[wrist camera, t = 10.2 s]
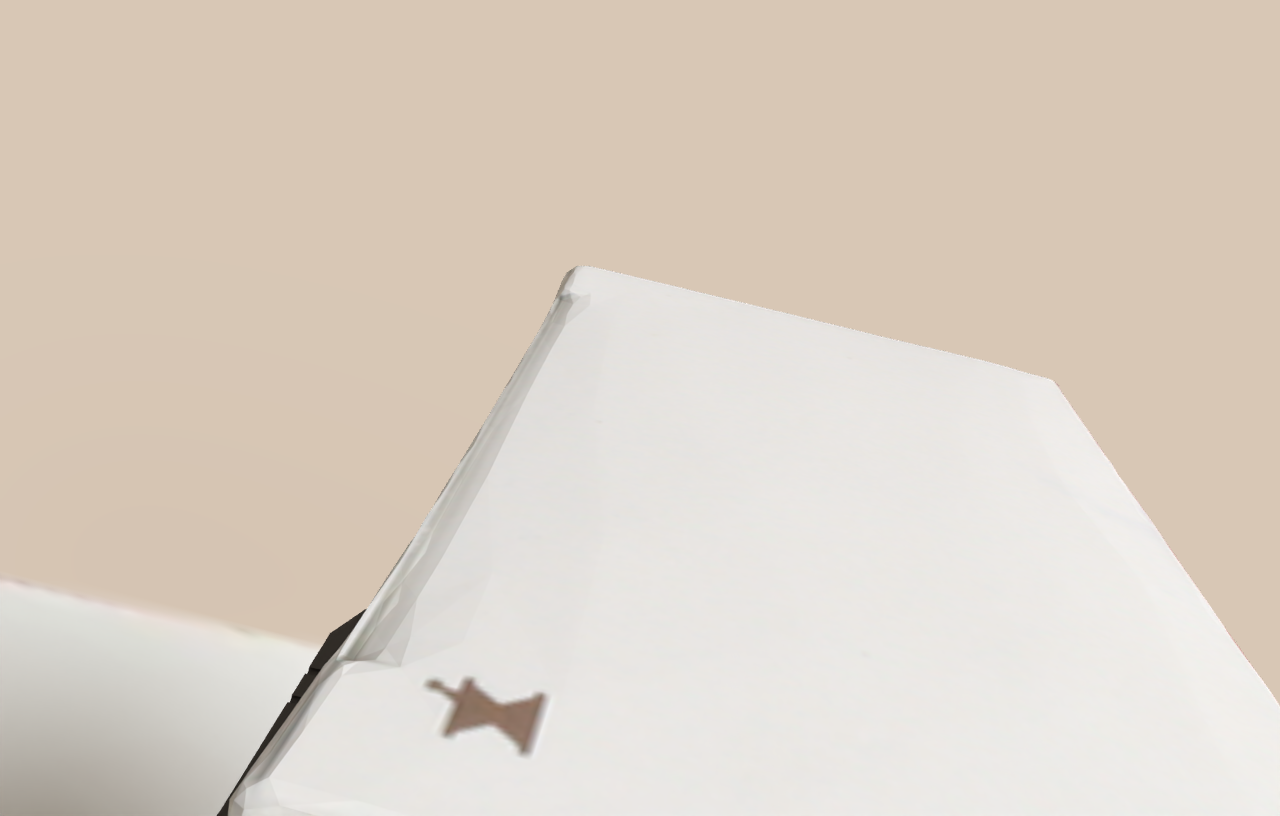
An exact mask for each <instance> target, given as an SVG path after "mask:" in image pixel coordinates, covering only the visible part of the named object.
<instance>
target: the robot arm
mask: <svg viewBox="0 0 1280 816" xmlns="http://www.w3.org/2000/svg"><path fill="white" fill-rule="evenodd" d="M365 611H366V609H365V610H364V611H362V612H361V613H359V614H358V615H356V616H355V617H353V618H352V619H351V620H349V621H348V622H346V623H345V624H343V625H342V626H340V627H339V628H338V629H336V630H334V631H333V632H332V633H330V635H329V636H328V638H327V639H326V641H325V643H324V644H323V646H322V647H321V649H320V651H319V652H318V654H317V655H316V657H315V659H314V660H313V662H312V664H311V665H310V667H309V671H308V673H307V674H305V675H304V676H303V678H302V680H301V681H300V683H299V685H298V686H297V688H296V689H295V691H294V693H293V694H292V698H291V701H290V703H289V702H287V704H286V706H285V707H284V709H283V710H282V712H281V714H280V715H279V717H278V718H277V720H276V722H275V723H274V725H273V727H272V728H271V730H270V731H269V733H268V735H267V736H266V738H265V739H264V741H263V743H262V744H261V746H260V748H259V749H258V751H257V752H256V754H255V756H254V757H253V759H252V760H251V762H250V764H249V765H248V767H247V769H246V770H245V772H244V773H243V775H242V777H241V778H240V780H239V781H238V783H237V785H236V786H235V788H234V790H233V791H232V793H231V794H230V796H229V798H228V799H227V801H226V802H225V804H224V806H223V807H222V809H221V810H220V812H219V813H218V814H217V816H228V810H229V801H230V798H231V797H232V795H233V794H234V792H235V791H236V789H237V788H238V786H239V785H240V784H241V782H242V781H243V779H244V778H245V776H246V775H247V773H248V772H249V770H250V769H251V767H252V766H253V765H254V763H255V762H256V761H257V759H258V758H259V756H260V755H261V754H262V752H263V751H264V750H265V748H266V747H267V745H268V744H269V743H270V741H271V740H272V739H273V737H274V736H275V734H276V733H277V732H278V730H279V729H280V728H281V726H282V725H283V724H284V722H285V721H286V719H287V718H288V716H289V715H290V714H291V712H292V711H293V709H294V708H295V706H296V705H297V703H298V702H299V701H300V699H301V698H302V696H303V695H304V693H305V692H306V691H307V689H308V688H309V686H310V685H311V683H312V682H313V681H314V679H315V678H316V676H317V675H318V673H319V672H320V670H321V669H322V668H323V666H324V665H325V664H326V663H327V662H328V661H329V659H330V658H331V657H332V656H333V655H334V654H335V653H336V651H337V650H338V649H339V648H340V647H341V645H342V644H343V643H344V641H345V640H346V639H347V637H348V636H349V635H350V633H351V632H352V631H353V629H354V628H355V626H356V625H357V623H358V622H359V620H360V619H361V617H362V616H363V614H364V613H365Z"/></svg>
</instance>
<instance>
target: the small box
mask: <svg viewBox="0 0 1280 816" xmlns="http://www.w3.org/2000/svg"><path fill="white" fill-rule="evenodd" d="M228 816H1280V705H1279V703H1278V702H1277V700H1276V699H1275V698H1274V696H1273V695H1272V693H1271V692H1270V690H1269V689H1268V687H1267V686H1266V685H1265V683H1264V682H1263V680H1262V679H1261V678H1260V676H1259V675H1258V673H1257V672H1256V671H1255V669H1254V668H1253V666H1252V665H1251V664H1250V662H1249V661H1248V659H1247V658H1246V657H1245V655H1244V654H1243V652H1242V651H1241V649H1240V648H1239V647H1238V645H1237V644H1236V642H1235V641H1234V640H1233V638H1232V637H1231V635H1230V634H1229V633H1228V631H1227V630H1226V628H1225V627H1224V626H1223V624H1222V623H1221V621H1220V620H1219V618H1218V617H1217V615H1216V614H1215V612H1214V611H1213V609H1212V608H1211V606H1210V605H1209V604H1208V602H1207V601H1206V599H1205V598H1204V596H1203V595H1202V593H1201V592H1200V590H1199V589H1198V588H1197V586H1196V585H1195V583H1194V582H1193V580H1192V579H1191V578H1190V576H1189V575H1188V573H1187V572H1186V570H1185V569H1184V568H1183V566H1182V565H1181V563H1180V562H1179V560H1178V559H1177V558H1176V556H1175V555H1174V553H1173V552H1172V550H1171V549H1170V547H1169V546H1168V544H1167V543H1166V541H1165V540H1164V538H1163V537H1162V535H1161V534H1160V533H1159V531H1158V530H1157V528H1156V527H1155V525H1154V524H1153V523H1152V521H1151V520H1150V518H1149V517H1148V515H1147V514H1146V512H1145V511H1144V509H1143V508H1142V507H1141V505H1140V504H1139V502H1138V501H1137V499H1136V498H1135V497H1134V495H1133V494H1132V492H1131V491H1130V490H1129V488H1128V487H1127V486H1126V484H1125V483H1124V482H1123V481H1122V479H1121V478H1120V476H1119V475H1118V473H1117V472H1116V470H1115V468H1114V467H1113V465H1112V463H1111V462H1110V461H1109V460H1108V458H1107V457H1106V456H1105V454H1104V452H1103V451H1102V449H1101V448H1100V446H1099V445H1098V443H1097V442H1096V441H1095V439H1094V438H1093V436H1092V435H1091V433H1090V432H1089V430H1088V429H1087V428H1086V426H1085V425H1084V423H1083V422H1082V420H1081V419H1080V417H1079V416H1078V414H1077V413H1076V412H1075V410H1074V409H1073V407H1072V406H1071V404H1070V403H1069V402H1068V400H1067V399H1066V398H1065V396H1064V395H1063V393H1062V391H1061V390H1060V388H1059V385H1058V384H1056V383H1055V382H1054V381H1052V380H1050V379H1048V378H1044V377H1040V376H1037V375H1033V374H1029V373H1025V372H1022V371H1019V370H1015V369H1013V368H1010V367H1006V366H1002V365H997V364H994V363H990V362H986V361H983V360H979V359H975V358H970V357H966V356H962V355H958V354H954V353H949V352H945V351H941V350H937V349H933V348H928V347H924V346H920V345H916V344H911V343H907V342H903V341H898V340H894V339H890V338H886V337H882V336H878V335H874V334H869V333H866V332H861V331H857V330H853V329H849V328H845V327H841V326H837V325H833V324H829V323H825V322H821V321H816V320H812V319H808V318H804V317H800V316H795V315H791V314H788V313H784V312H779V311H775V310H771V309H767V308H763V307H758V306H755V305H751V304H746V303H742V302H738V301H734V300H730V299H726V298H721V297H717V296H713V295H709V294H705V293H700V292H697V291H692V290H688V289H684V288H680V287H676V286H672V285H667V284H663V283H659V282H655V281H650V280H646V279H642V278H638V277H634V276H629V275H625V274H621V273H617V272H613V271H608V270H604V269H600V268H595V267H591V266H576V267H575V268H573V269H572V270H570V271H569V272H567V274H566V275H565V277H564V278H563V281H562V283H561V285H560V288H559V290H558V293H557V295H556V298H555V300H554V303H553V305H552V307H551V309H550V311H549V313H548V315H547V317H546V318H545V320H544V322H543V324H542V326H541V328H540V330H539V332H538V333H537V335H536V337H535V338H534V340H533V342H532V343H531V345H530V347H529V349H528V350H527V352H526V353H525V355H524V357H523V358H522V360H521V362H520V364H519V365H518V367H517V369H516V371H515V372H514V374H513V376H512V377H511V379H510V381H509V382H508V384H507V385H506V387H505V389H504V390H503V392H502V394H501V396H500V398H499V399H498V401H497V403H496V404H495V406H494V408H493V409H492V411H491V412H490V414H489V416H488V417H487V419H486V421H485V422H484V424H483V426H482V427H481V429H480V431H479V432H478V434H477V436H476V437H475V439H474V440H473V442H472V444H471V445H470V447H469V449H468V450H467V452H466V454H465V455H464V457H463V458H462V460H461V462H460V464H459V465H458V467H457V468H456V470H455V471H454V473H453V475H452V476H451V478H450V479H449V481H448V483H447V484H446V486H445V487H444V489H443V491H442V492H441V494H440V496H439V497H438V499H437V501H436V503H435V504H434V506H433V508H432V509H431V511H430V512H429V514H428V515H427V517H426V518H425V520H424V522H423V523H422V525H421V527H420V529H419V531H418V532H417V534H416V536H415V537H414V539H413V540H412V541H411V542H410V544H409V545H408V547H407V548H406V550H405V551H404V553H403V554H402V556H401V557H400V559H399V560H398V562H397V563H396V565H395V566H394V568H393V570H392V571H391V572H390V574H389V575H388V577H387V579H386V580H385V581H384V583H383V585H382V586H381V588H380V589H379V591H378V592H377V594H376V596H375V597H374V599H373V600H372V602H371V603H370V605H369V607H368V608H367V609H366V611H365V613H364V614H363V616H362V617H361V619H360V620H359V622H358V623H357V625H356V626H355V628H354V629H353V631H352V632H351V633H350V635H349V636H348V637H347V639H346V640H345V641H344V643H343V644H342V645H341V647H340V648H339V649H338V650H337V651H336V653H335V654H334V655H333V656H332V657H331V658H330V659H329V661H328V662H327V663H326V664H325V665H324V666H323V668H322V669H321V670H320V672H319V673H318V675H317V676H316V678H315V679H314V681H313V682H312V683H311V685H310V686H309V688H308V689H307V691H306V692H305V693H304V695H303V696H302V698H301V699H300V701H299V702H298V703H297V705H296V706H295V708H294V709H293V711H292V712H291V714H290V715H289V716H288V718H287V719H286V721H285V722H284V724H283V725H282V726H281V728H280V729H279V730H278V732H277V733H276V734H275V736H274V737H273V739H272V740H271V741H270V743H269V744H268V745H267V747H266V748H265V750H264V751H263V752H262V754H261V755H260V756H259V758H258V759H257V761H256V762H255V763H254V765H253V766H252V767H251V769H250V770H249V772H248V773H247V775H246V776H245V778H244V779H243V781H242V782H241V784H240V785H239V786H238V788H237V789H236V791H235V792H234V794H233V795H232V797H231V798H230V801H229V810H228Z"/></svg>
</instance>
